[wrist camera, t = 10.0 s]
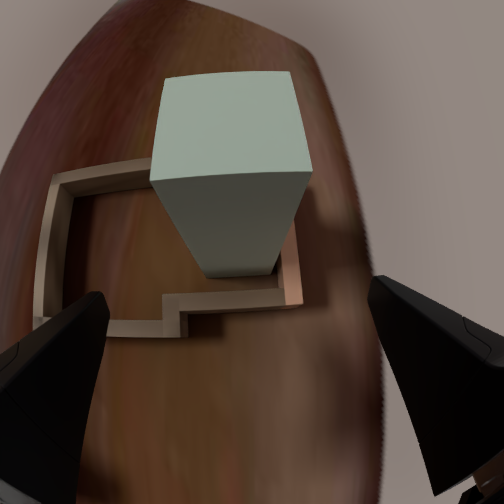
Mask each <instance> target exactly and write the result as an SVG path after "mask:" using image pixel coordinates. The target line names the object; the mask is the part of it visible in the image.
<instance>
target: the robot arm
mask: <svg viewBox="0 0 504 504" xmlns="http://www.w3.org/2000/svg"><path fill="white" fill-rule="evenodd" d="M367 300H368V305H369V308H370V311H371V314H372V317H373V320H374V324H375V327H376V330H377V333H378V336H379V339H380V342H381V344H382V347H383V349H384V351H385V354H386V356H387V359H388V361H389V363H390V366H391V368H392V371H393V373H394V375H395V378H396V381H397V384H398V386H399V389H400V391H401V394H402V397H403V399H404V402H405V405H406V407H407V410H408V413H409V416H410V419H411V422H412V425H413V427H414V430H415V433H416V436H417V439H418V442H419V443H420V444H419V446H420V449H421V453H422V455H423V459H424V462H425V466H426V469H427V473H428V476H429V480H430V483H431V487H432V491H433V494H434V496H437V495H439V494H441V493H443V492H445V491H447V490H449V489H451V488H452V487H454V486H456V485H458V484H460V483H461V482H463V481H465V480H466V479H468V478H470V477H471V476H473V478H474V480H475V483H476V485H475V486H473V487H472V488H470V489H468V490H467V491H465V492H463V493H462V496H461V498H460V501H459V503H458V504H504V337H503V336H501V335H499V334H497V333H495V332H493V331H491V330H489V329H487V328H485V327H483V326H481V325H479V324H477V323H475V322H473V321H471V320H469V319H467V318H466V317H462V315H460V314H458V313H456V312H455V311H453V310H451V309H449V308H447V307H445V306H443V305H441V304H439V303H437V302H436V301H434V300H432V299H430V298H428V297H426V296H424V295H422V294H420V293H418V292H416V291H414V290H412V289H410V288H408V287H407V286H405V285H403V284H401V283H399V282H397V281H395V280H392V279H390V278H389V277H387V276H384V275H380V276H374V277H373V278H372V279H371V283H370V288H369V292H368V297H367ZM109 320H110V311H109V308H108V306H107V303H106V300H105V297H104V295H103V293H102V292H100V291H92V292H89V293H88V294H86V295H85V296H83V297H82V298H80V299H79V300H77V301H76V302H74V303H73V304H71V305H70V306H68V307H67V308H65V309H64V310H62V311H61V312H59V313H58V314H56V315H55V316H54V317H52V318H51V319H49V320H48V321H46V322H45V323H43V324H42V325H41V326H39V327H38V328H36V329H35V330H33V331H32V332H31V333H29V334H28V335H26V336H25V337H24V338H22V339H21V340H20V342H19V341H18V342H17V343H15V344H14V345H13V346H11V347H10V348H8V349H7V350H6V351H4V352H3V353H1V354H0V504H76V493H77V483H78V475H79V467H80V459H81V452H82V446H83V440H84V435H85V429H86V424H87V419H88V414H89V409H90V405H91V400H92V396H93V392H94V387H95V383H96V379H97V375H98V372H99V368H100V364H101V360H102V356H103V352H104V347H105V341H106V335H107V330H108V325H109Z"/></svg>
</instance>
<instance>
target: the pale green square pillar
mask: <svg viewBox="0 0 504 504" xmlns="http://www.w3.org/2000/svg"><path fill="white" fill-rule="evenodd" d="M312 172H313V170H312V165H311V160H310V155H309V151H308V146H307V141H306V137H305V132H304V128H303V124H302V119H301V115H300V111H299V107H298V103H297V99H296V95H295V91H294V87H293V83H292V80H291V76H290V72H277V71H252V72H226V73H211V74H200V75H190V76H182V77H174V78H167V79H165V83H164V88H163V93H162V98H161V104H160V109H159V115H158V121H157V127H156V134H155V140H154V148H153V155H152V163H151V172H150V183H151V184H152V186H153V188H154V190H155V192H156V193H157V195H158V197H159V199H160V201H161V202H162V204H163V206H164V208H165V209H166V211H167V213H168V215H169V216H170V218H171V220H172V221H173V223H174V225H175V227H176V228H177V230H178V232H179V233H180V235H181V237H182V239H183V240H184V242H185V244H186V245H187V247H188V249H189V250H190V252H191V254H192V255H193V257H194V259H195V260H196V262H197V263H198V265H199V267H200V268H201V270H202V272H203V273H204V275H205V276H206V278H221V277H238V276H254V275H270V274H271V272H272V270H273V267H274V265H275V262H276V260H277V258H278V255H279V253H280V251H281V248H282V246H283V243H284V241H285V239H286V236H287V234H288V231H289V229H290V226H291V224H292V222H293V219H294V217H295V214H296V212H297V209H298V207H299V204H300V202H301V199H302V197H303V194H304V192H305V189H306V187H307V184H308V182H309V179H310V177H311V174H312Z"/></svg>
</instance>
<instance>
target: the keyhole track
mask: <svg viewBox="0 0 504 504" xmlns="http://www.w3.org/2000/svg"><path fill="white" fill-rule="evenodd" d="M151 163H152V157H150V158H143V159H135V160H129V161H122V162H116V163H110V164H104V165H98V166H93V167H88V168H82V169H77V170H73V171H68V172H63V173H59V174H54V175H53V177H52V181H51V185H50V189H49V193H48V197H47V202H46V207H45V211H44V217H43V222H42V228H41V234H40V240H39V247H38V254H37V263H36V273H35V285H34V302H33V330H35V329H36V328H38V327H39V326H41V325H42V324H43V323H45V322H46V321H48V320H49V319H51V318H52V317H54V316H55V315H56V314H58V313H59V312H61V311H62V297H63V278H64V266H65V255H66V246H67V238H68V231H69V224H70V218H71V212H72V206H73V201H74V198H75V197H82V196H88V195H95V194H102V193H109V192H116V191H124V190H132V189H140V188H149V187H153V186H152V184H151V183H150V172H151ZM276 264H277V276H278V287H279V288H274V289H259V290H242V291H224V292H204V293H179V294H162V310H163V320H109V325H108V330H107V335H106V336H110V337H150V338H174V337H189V335H188V314H211V313H232V312H249V311H264V310H278V309H290V308H297V307H298V306H300V305H302V304H303V296H302V286H301V276H300V267H299V258H298V249H297V241H296V232H295V224H294V219H293V222H292V224H291V226H290V229H289V231H288V234H287V236H286V239H285V241H284V243H283V246H282V248H281V251H280V253H279V255H278V258H277V260H276Z"/></svg>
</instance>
